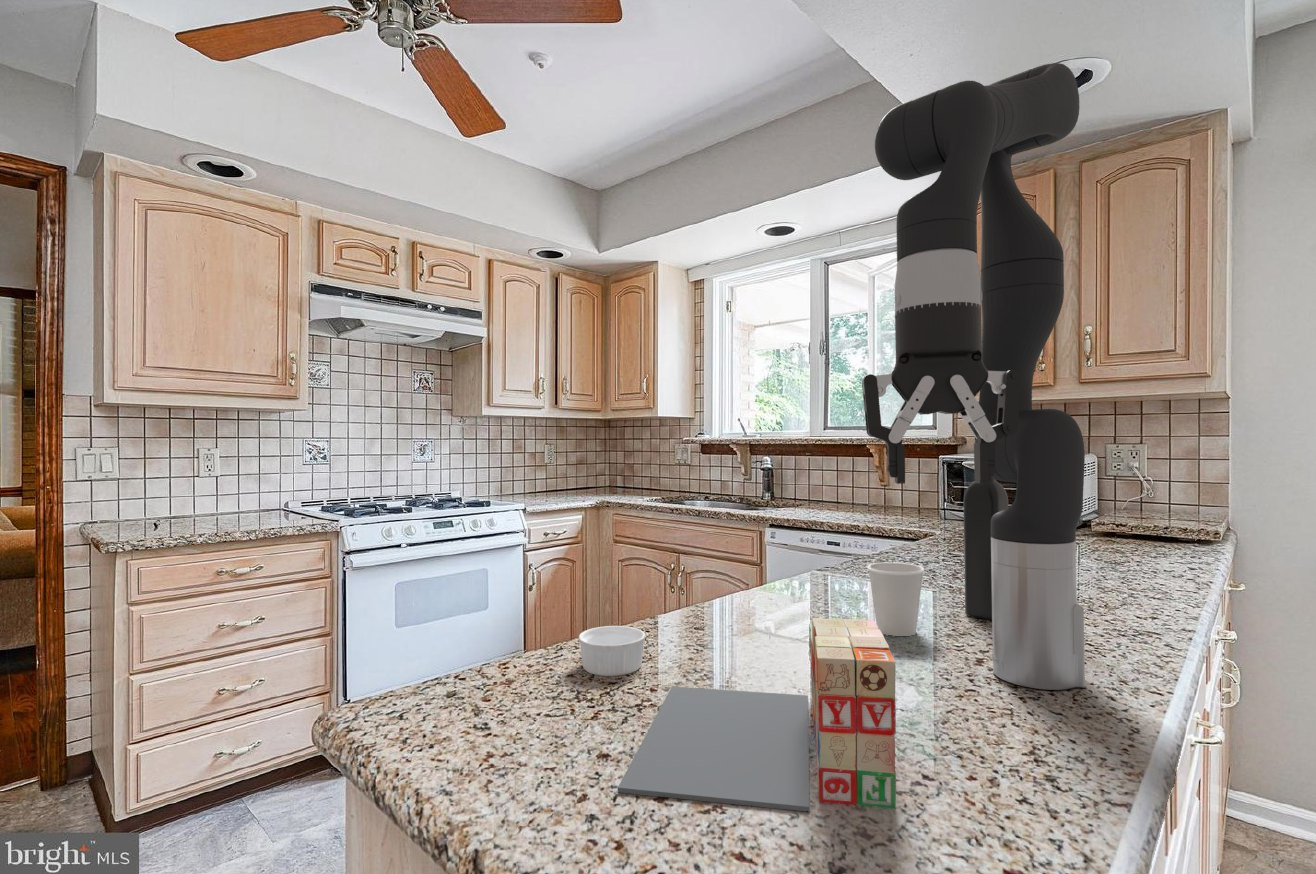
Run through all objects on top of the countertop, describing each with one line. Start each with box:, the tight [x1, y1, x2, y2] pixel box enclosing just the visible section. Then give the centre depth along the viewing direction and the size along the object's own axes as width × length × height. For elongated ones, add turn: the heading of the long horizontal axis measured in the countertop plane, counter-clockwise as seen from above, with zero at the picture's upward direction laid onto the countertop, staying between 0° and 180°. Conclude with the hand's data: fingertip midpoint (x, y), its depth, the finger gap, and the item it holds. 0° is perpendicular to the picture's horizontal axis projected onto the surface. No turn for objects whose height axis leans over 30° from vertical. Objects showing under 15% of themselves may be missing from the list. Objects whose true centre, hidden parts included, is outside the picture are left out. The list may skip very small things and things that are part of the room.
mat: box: [617, 686, 810, 813], centre depth 67 cm, size 16×24×1 cm, turn 168°
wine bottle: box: [962, 436, 1009, 621], centre depth 112 cm, size 6×6×30 cm
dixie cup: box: [866, 561, 925, 637], centre depth 104 cm, size 8×8×10 cm
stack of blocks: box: [808, 617, 897, 810], centre depth 65 cm, size 21×6×12 cm, turn 169°
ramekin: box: [578, 625, 646, 677], centre depth 90 cm, size 9×9×4 cm
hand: (939, 482), depth 63 cm, fingers open, 6 cm apart
